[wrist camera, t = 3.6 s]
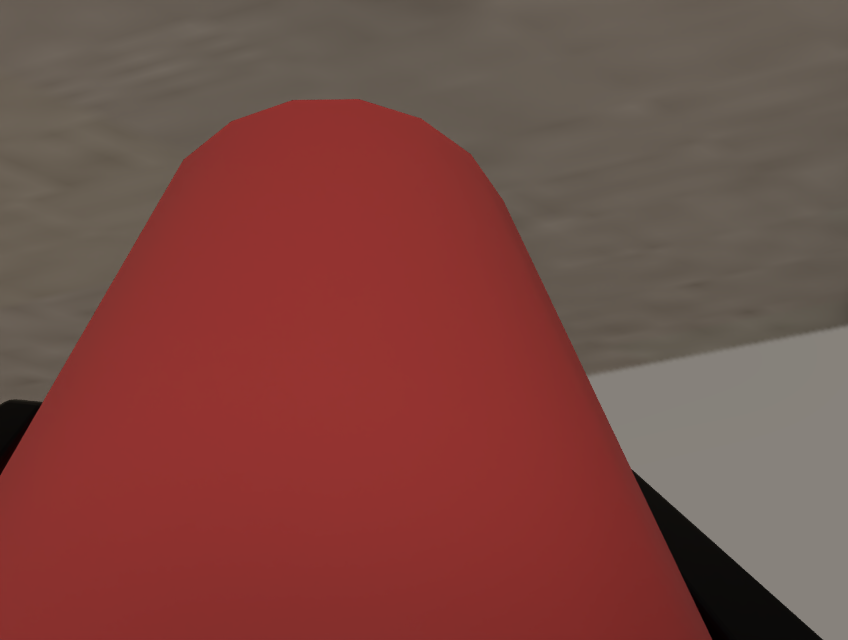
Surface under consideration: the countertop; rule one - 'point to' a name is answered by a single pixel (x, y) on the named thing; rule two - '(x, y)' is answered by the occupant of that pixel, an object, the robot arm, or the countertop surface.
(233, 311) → the beer can
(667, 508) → the robot arm
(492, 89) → the countertop surface
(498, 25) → the countertop surface
